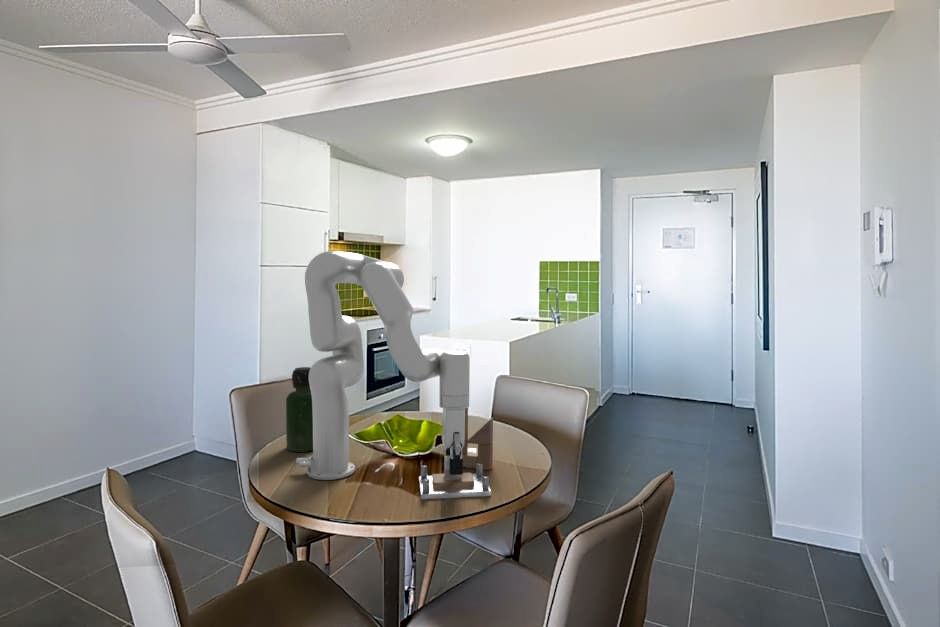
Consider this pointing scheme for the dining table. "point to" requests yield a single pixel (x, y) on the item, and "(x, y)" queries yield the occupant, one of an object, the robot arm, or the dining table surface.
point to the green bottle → (299, 413)
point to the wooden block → (479, 446)
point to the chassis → (478, 490)
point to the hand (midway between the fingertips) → (453, 467)
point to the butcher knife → (472, 450)
